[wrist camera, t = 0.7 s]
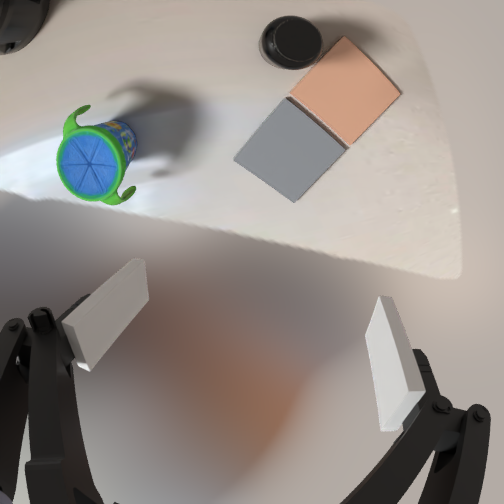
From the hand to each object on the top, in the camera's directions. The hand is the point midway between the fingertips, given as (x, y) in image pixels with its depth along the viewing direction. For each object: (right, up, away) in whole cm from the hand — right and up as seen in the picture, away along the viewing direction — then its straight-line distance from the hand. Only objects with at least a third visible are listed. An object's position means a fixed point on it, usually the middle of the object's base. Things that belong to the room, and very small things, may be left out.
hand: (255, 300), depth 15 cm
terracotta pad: (+13, +26, +20) cm, 35 cm away
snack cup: (-21, +20, +24) cm, 38 cm away
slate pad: (+5, +17, +26) cm, 32 cm away
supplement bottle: (+4, +30, +16) cm, 35 cm away
